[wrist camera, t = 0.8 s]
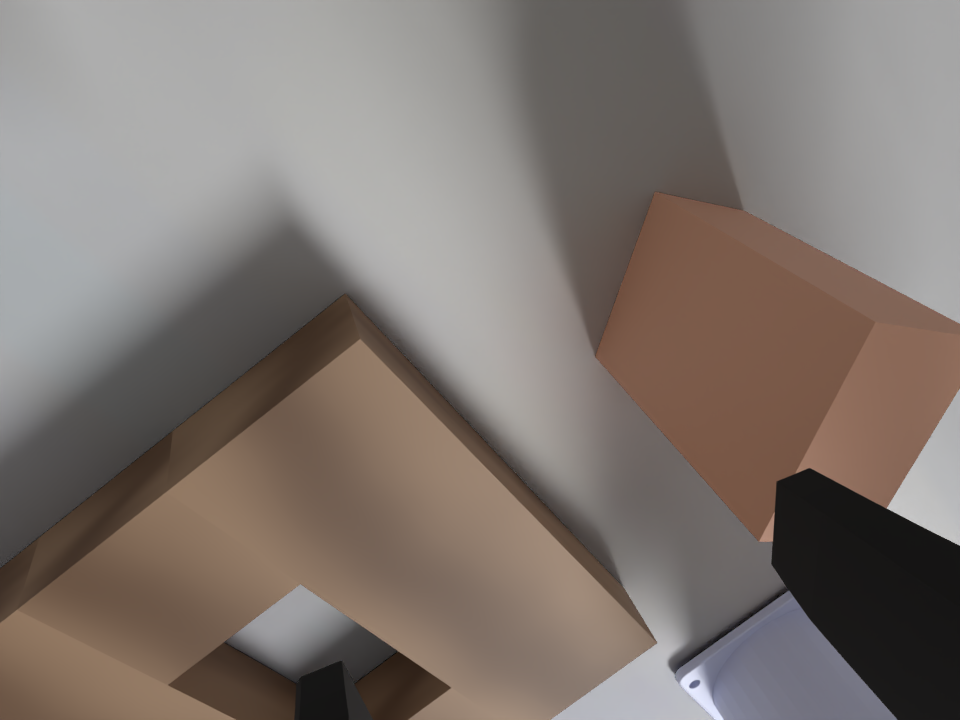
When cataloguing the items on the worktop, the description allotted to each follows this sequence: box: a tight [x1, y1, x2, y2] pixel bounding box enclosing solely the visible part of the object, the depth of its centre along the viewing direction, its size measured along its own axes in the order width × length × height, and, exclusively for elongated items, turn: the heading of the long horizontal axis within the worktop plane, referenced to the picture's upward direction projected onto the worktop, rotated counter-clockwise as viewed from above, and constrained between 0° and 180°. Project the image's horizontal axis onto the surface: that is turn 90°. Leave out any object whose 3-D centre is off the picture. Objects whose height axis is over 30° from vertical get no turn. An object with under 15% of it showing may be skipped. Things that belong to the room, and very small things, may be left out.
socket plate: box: [0, 294, 657, 720], centre depth 22 cm, size 16×16×2 cm
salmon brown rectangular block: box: [595, 192, 960, 542], centre depth 18 cm, size 3×5×8 cm, turn 164°
